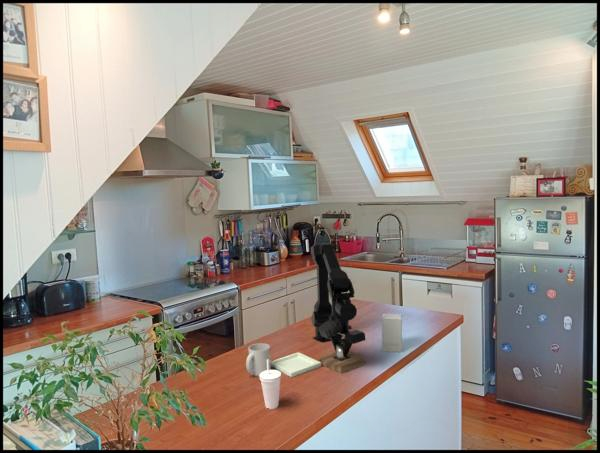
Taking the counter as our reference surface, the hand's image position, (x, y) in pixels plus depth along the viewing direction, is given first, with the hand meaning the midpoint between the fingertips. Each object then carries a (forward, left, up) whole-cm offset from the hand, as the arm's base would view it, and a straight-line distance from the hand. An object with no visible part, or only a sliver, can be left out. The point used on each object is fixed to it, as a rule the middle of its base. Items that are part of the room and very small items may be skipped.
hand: (341, 355), depth 161 cm
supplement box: (+2, +24, -4) cm, 24 cm away
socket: (0, 0, -3) cm, 3 cm away
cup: (-14, -26, -4) cm, 30 cm away
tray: (-10, -13, -3) cm, 17 cm away
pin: (0, 0, -3) cm, 3 cm away
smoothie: (+8, -35, -4) cm, 36 cm away
